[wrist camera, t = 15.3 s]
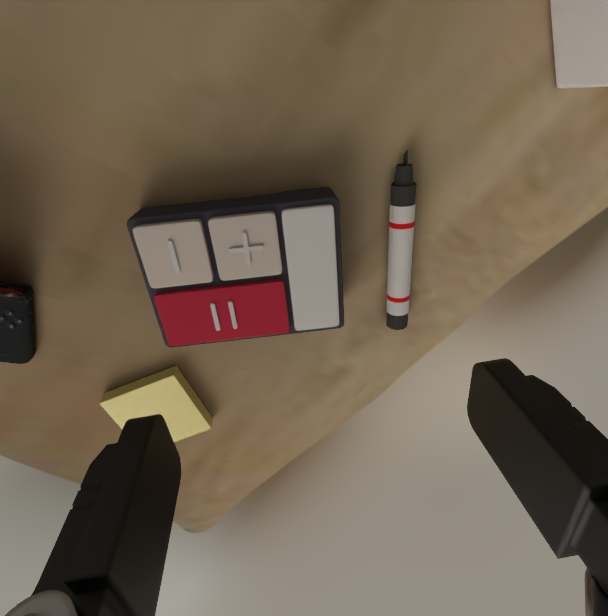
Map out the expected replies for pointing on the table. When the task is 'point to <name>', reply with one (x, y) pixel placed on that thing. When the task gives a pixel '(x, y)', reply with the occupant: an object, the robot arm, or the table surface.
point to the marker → (400, 245)
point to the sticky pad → (160, 403)
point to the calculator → (242, 266)
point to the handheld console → (16, 323)
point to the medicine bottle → (580, 42)
